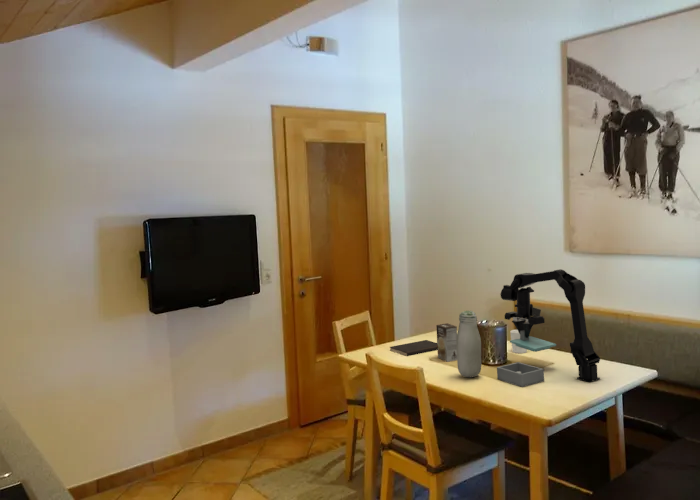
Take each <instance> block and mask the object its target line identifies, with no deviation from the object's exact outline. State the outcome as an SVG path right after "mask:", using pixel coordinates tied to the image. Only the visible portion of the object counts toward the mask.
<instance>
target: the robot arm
mask: <svg viewBox="0 0 700 500" xmlns="http://www.w3.org/2000/svg"><path fill="white" fill-rule="evenodd" d="M547 281H556V283H557V285H558V286H559V288H561V289H562V290H563V293H564V296H565V298H566V299H567V301H568V303H569V306H570V307H569V308H570V313H571V314H570V315H571V320H572V321H571V322H572V328H573V336H574V340H573V341H572V342H569V347H570V354H571V355H572V357H573V358H574V362H575V364H576V366H578V376H577V377H576V379H577V380H580V381H585V382H588V383H592V382H595V381H598V380H600V379H601V377H598V364H599V363H600V361H601V357H600V356H599V355H598V354H597V352H595V349H594V347H593V346H594V345H593V343H592V342H591V340H590V339H589V337H588V332H587V331H588V330H587V326H586V324H587V323H586V317H585V309H584V302H583V301H584V299H585V295H586V284H585V282H584V281H583V280H581V279H578V278H577V277H576V276H574V275H572V274H570V273H569V272H567V271H566V270H564V269H556V270H551V271H546V272H539V273H533V272H523V273H518V274H515V275H514V276H513V280H512V282H511V283H510V285H508V284H504V285H503V287H502V289H501V291H500V293H499V294H500V298H501V300H503V301H510V302H511V301H512V302H516V304H514V307H515V308H516V311H507V312H506V313H505V314H504V320H508V321H510V320H511V319H512V320H511V323H513V325H514V326H515V329H516V330H518V332H519V333H520V331H521V330H524V332H525V336H526V338H528V337H529V336H530V334H531V330H532V329H533V326H536V325H539V324H540V325H541V324H545V322H546V321H545V317H544V316H541V314H542V313H541V312H542V309H539V308H536V307H534V305H533V304H532V303H531V293H533V292H534V293H535V289H534V288H532V287H531V285H534V284H536V283H541V282H547Z"/></svg>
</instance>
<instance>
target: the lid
mask: <svg viewBox="0 0 700 500" xmlns="http://www.w3.org/2000/svg"><path fill="white" fill-rule="evenodd" d="M509 343H511V344H512V343H513V344H516V346H518V347H521V348H524V349H527V351H530V352H533V353H535V352H536V353H537V352H541V351H546V350H550V349H551V348H552V347H557V344H556V343H555V342H552V341H548V340H544V339H542V338H538V337H535V336H532V335H529V337H528V338H526V336H525V332H524V330H521V331H520V339H515V340H511V339H510V340H509Z"/></svg>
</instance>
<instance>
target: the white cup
mask: <svg viewBox="0 0 700 500" xmlns="http://www.w3.org/2000/svg"><path fill="white" fill-rule="evenodd" d="M509 332H510V340H515V339H520V333H519V332H518V330H517V329H512V330H510V331H509ZM511 350H512V353H514V354H526V353H527V352H528V350H527V349H524V348H521V347H518V346H516V344H513V343H511Z"/></svg>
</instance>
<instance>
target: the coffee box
mask: <svg viewBox="0 0 700 500" xmlns="http://www.w3.org/2000/svg"><path fill="white" fill-rule="evenodd" d="M457 333H458V326H456V325H453V324H451V323H442V324H436V343H437V349H438V350H437V359H440V360H442V361H444V362H448V363H449V362H455V361H457V348H456V337H457Z"/></svg>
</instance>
